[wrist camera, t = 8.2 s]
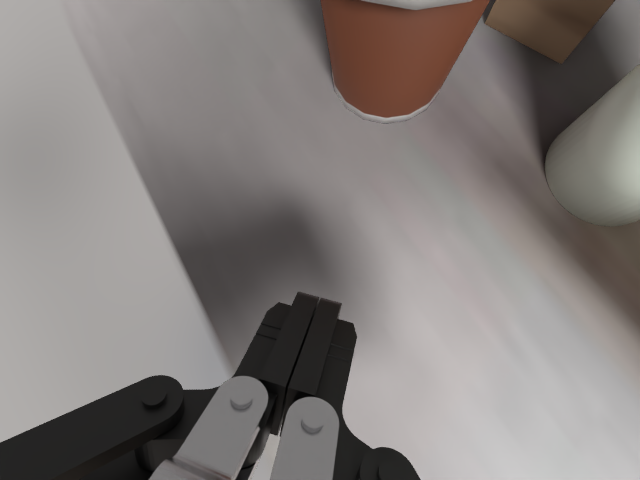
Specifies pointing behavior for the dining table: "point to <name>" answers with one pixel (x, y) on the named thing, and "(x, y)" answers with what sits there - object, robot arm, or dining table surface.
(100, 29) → the dining table surface
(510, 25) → the walnut block
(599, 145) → the canister
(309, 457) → the robot arm
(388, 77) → the coffee cup
